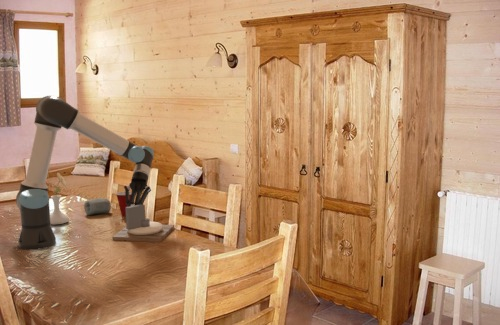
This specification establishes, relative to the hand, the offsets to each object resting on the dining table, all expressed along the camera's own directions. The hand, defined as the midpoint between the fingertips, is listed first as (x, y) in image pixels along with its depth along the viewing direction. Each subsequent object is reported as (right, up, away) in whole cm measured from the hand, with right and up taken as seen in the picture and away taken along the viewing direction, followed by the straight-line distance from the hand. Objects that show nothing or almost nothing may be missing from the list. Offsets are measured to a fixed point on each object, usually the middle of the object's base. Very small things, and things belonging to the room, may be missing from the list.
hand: (130, 218), depth 248 cm
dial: (+6, -6, +3) cm, 9 cm away
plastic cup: (-10, -2, +39) cm, 41 cm away
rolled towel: (-26, -2, +41) cm, 49 cm away
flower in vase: (-41, -5, +23) cm, 47 cm away
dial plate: (+6, -8, +3) cm, 10 cm away
